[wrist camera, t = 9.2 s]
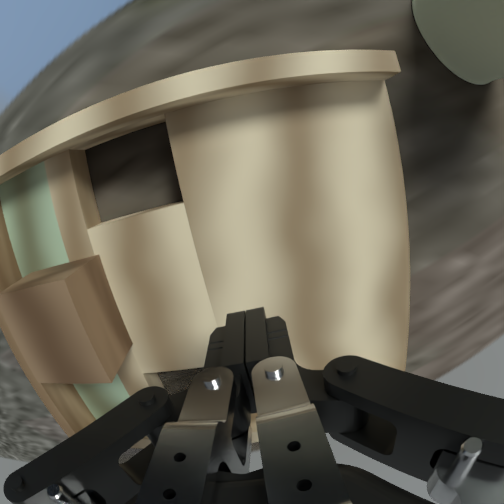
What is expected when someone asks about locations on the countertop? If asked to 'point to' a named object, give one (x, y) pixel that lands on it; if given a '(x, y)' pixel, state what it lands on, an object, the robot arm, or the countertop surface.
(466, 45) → the can
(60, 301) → the block
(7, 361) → the countertop surface
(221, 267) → the board
